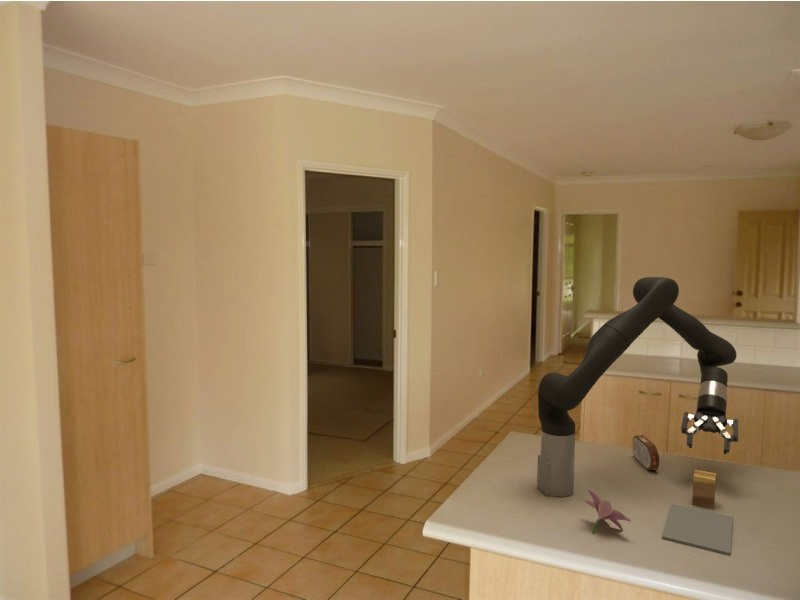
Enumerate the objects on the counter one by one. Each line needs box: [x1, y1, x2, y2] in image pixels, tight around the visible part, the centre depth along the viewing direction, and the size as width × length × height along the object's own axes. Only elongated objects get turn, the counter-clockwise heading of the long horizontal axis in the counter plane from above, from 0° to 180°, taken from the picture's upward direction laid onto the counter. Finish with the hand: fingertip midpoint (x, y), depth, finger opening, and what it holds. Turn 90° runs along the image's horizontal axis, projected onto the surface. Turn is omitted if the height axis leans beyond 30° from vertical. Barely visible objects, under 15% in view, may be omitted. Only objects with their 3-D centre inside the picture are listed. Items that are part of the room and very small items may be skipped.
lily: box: [583, 487, 632, 534], centre depth 138 cm, size 12×12×10 cm
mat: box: [661, 503, 734, 556], centre depth 139 cm, size 20×14×1 cm
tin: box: [632, 434, 660, 471], centre depth 179 cm, size 15×3×8 cm, turn 179°
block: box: [691, 469, 717, 510], centre depth 152 cm, size 5×5×8 cm
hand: (707, 449), depth 158 cm, fingers open, 8 cm apart
